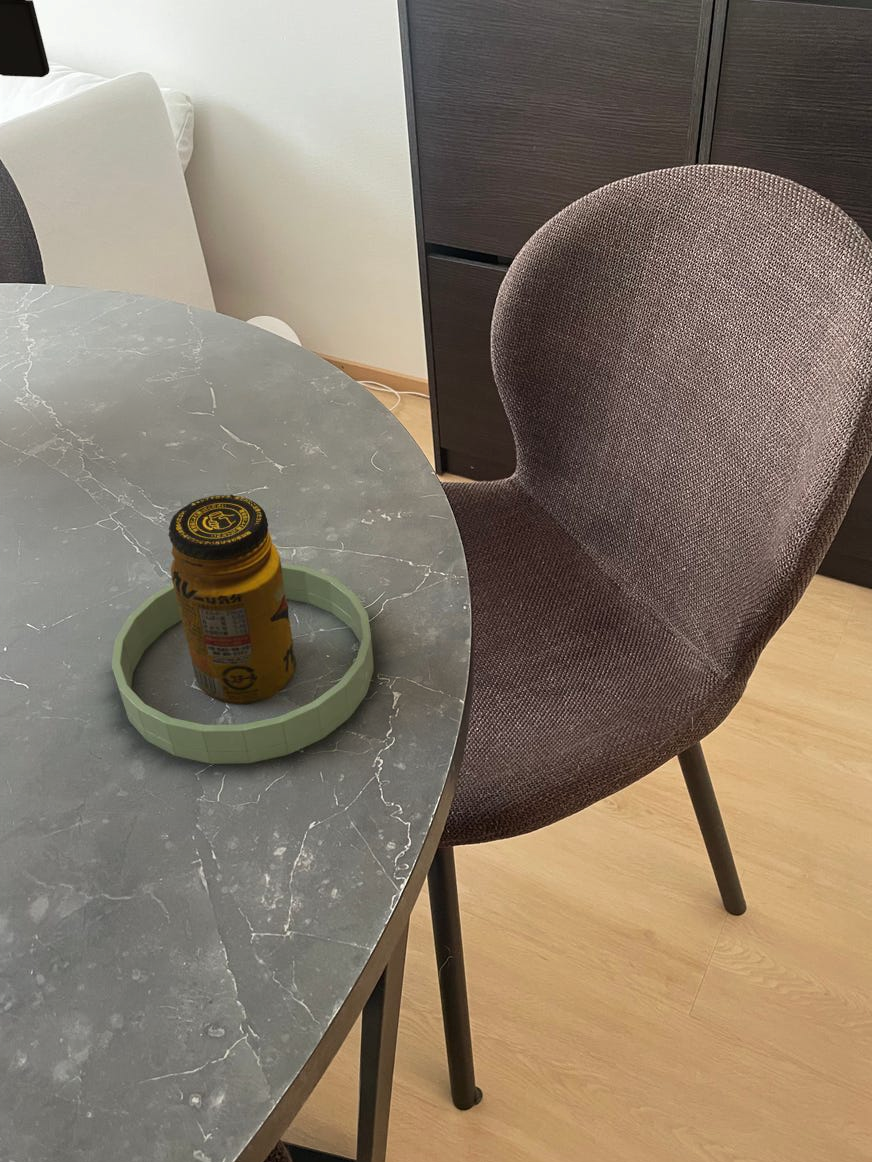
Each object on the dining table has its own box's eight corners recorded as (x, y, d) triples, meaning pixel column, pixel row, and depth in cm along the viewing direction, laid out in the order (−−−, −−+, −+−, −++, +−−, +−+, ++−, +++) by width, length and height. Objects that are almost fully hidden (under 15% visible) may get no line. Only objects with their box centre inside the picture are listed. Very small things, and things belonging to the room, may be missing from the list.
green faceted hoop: (87, 767, 59) (69, 718, 57) (176, 599, 71) (165, 552, 68) (345, 792, 58) (338, 743, 55) (394, 617, 69) (391, 570, 67)
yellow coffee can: (324, 657, 66) (303, 498, 58) (257, 751, 60) (224, 588, 52) (222, 631, 67) (188, 473, 59) (148, 719, 61) (99, 557, 53)
